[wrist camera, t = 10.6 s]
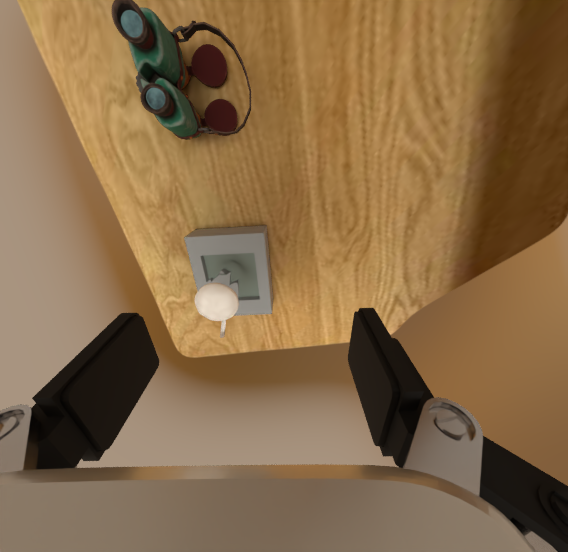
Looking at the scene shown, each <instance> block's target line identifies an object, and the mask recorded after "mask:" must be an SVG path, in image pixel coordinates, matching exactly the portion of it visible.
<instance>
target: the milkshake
mask: <svg viewBox="0 0 568 552" xmlns="http://www.w3.org/2000/svg"><path fill="white" fill-rule="evenodd" d="M243 278H244V270H243V267H242V266H241V265H240V264H239V263H237V262H233V261H228V262H227V263H225V264H223V265H222V266H221V267H220V268H219V269H218V270H217V272H216V273H215V274H214V275H213V276H212V277H211V278H210V279H209V280H208V281H207V282H206V283H205V284H204V285H203V286H202V287H201V288H200V289H199V291H198V292H197V294H196V296H195V304H196V307H197V310H198V312H199V313H200V314H201V315H203V316H204V317H206V318H208V319H209V320H213V321H222V324H221V333H220V338H222V337H224V335H225V325H226V320H227V319H229V318H231V317H233V316H234V315H235V313H236V312H237V309H238V305H239V299H240V293H241V287H242V283H243Z"/></svg>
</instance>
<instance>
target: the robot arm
mask: <svg viewBox="0 0 568 552" xmlns="http://www.w3.org/2000/svg"><path fill="white" fill-rule="evenodd" d="M348 362H349V366H350V369H351V372H352V375H353V379H354V382H355V385H356V388H357V391H358V395H359V397H360V401H361V404H362V407H363V410H364V413H365V417H366V420H367V423H368V426H369V429H370V432H371V435H372V439H373V442H374V444H375V445H376V446H380V449H381V451H382V455H383V456H393V458H394V461H395V464H396V465H397V466H399V467H389V466H375V465H226V466H225V465H222V466H159V467H157V466H156V467H104V468H77V464H78V463H79V461H80V460H81V458H82V459H83V461H99V460H100V458H101V456H102V455H103V453H104V451H105V450H107V449H109V448H110V446H111V445H112V443H113V442H114V440H115V438H116V437H117V435H118V433H119V432H120V430H121V428H122V427H123V425H124V423H125V422H126V420H127V418H128V417H129V415H130V413H131V412H132V410H133V408H134V407H135V405H136V403H137V402H138V400H139V398H140V397H141V395H142V393H143V391H144V390H145V388H146V387H147V385H148V383H149V382H150V380H151V378H152V377H153V375H154V373H155V371H156V369H157V368H158V366H159V358H158V356H157V354H156V351H155V348H154V345H153V343H152V340H151V338H150V335H149V332H148V330H147V327H146V325H145V322H144V319H143V317H141V316H139V314H138V313H121V314H120V315H119V316H118V317H117V318H116V319H115V320H114V321H113V322H111V323H110V324H109V325H108V326H107V327H106V328H105V329H104V330H103V331H102V332H101V333H100V334H99V335H98V336H97V337H96V338H95V339H94V340H93V341H92V342H91V343H90V344H88V346H86V347H85V348H84V349H83V350H82V351H81V352H80V353H79V354H78V355H77V356H76V357H75V358H74V359H73V360H72V361H71V362H70V363H69V364H67V366H65V367H64V368H63V369H62V370H61V371H60V372H59V373H58V374H57V375H56V376H55V377H54V378H53V379H52V380H51V381H50V382H49V383H48V384H47V385H46V386H44V387H43V388H42V389H41V390H40V391H39V392H38V393H37V394H36V395H35V396H34V397H33V398H32V399H33V400H34V401H35V402H36V404H35V405H34V406H33V407H32V408H31V407H29V406H28V405H16V406H12V407H9V408H6V409H3V410H1V411H0V552H568V486H567V485H565V484H563V483H561V482H560V481H558V480H556V479H555V478H553V477H551V476H550V475H548V474H546V473H545V472H543V471H541V470H540V469H538V468H536V467H535V466H533V465H531V464H530V463H528V462H526V461H525V460H523V459H521V458H519V457H518V456H516V455H515V454H513V453H511V452H510V451H508V450H506V449H505V448H503V447H501V446H499V445H498V444H496V443H494V442H493V441H491V440H489V439H487V438H486V437H484V436H483V434H482V429H481V427H480V425H479V423H478V422H477V420H476V419H475V418H474V417H473V415H472V414H471V413H469V412H468V411H467V410H466V409H465V408H464V407H462V406H460V405H459V404H457V403H455V402H453V401H450V400H448V399H444V398H439V397H438V398H434V397H433V395H432V393H431V392H430V390H429V389H428V387H427V386H426V384H425V383H424V381H423V379H422V377H421V376H420V374H419V373H418V371H417V370H416V368H415V367H414V365H413V363H412V362H411V360H410V358H409V357H408V355H407V354H406V352H405V351H404V349H403V347H402V346H401V344H400V343H399V341H398V340H397V339H395V338H391V336H390V334H389V333H388V331H387V329H386V328H385V326H384V324H383V323H382V321H381V319H380V318H379V316H378V314H377V313H376V311H375V309H374V308H360V309H359V311H358V312H355V313H354V319H353V326H352V333H351V339H350V347H349V354H348Z"/></svg>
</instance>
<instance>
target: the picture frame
mask: <svg viewBox="0 0 568 552" xmlns="http://www.w3.org/2000/svg"><path fill="white" fill-rule="evenodd" d="M184 239H185V243H186V247H187V251H188V255H189V259H190V263H191V267H192V271H193V275H194V279H195V283H196V287H197V291H199V289H200V288H201V287H202V286H203V285H204V284H205V283H206V282H207V281H208V280H209V279H210V278H211V277H212V276H213V275H214V274H215V273H216V272H217V270H218V269H219V268H220V267H221V266H222V265H223V264H225V263H227V262H228V261H233V262H237V263H239V264H240V265H241V266H242V267H243V270H244V278H243V283H242V287H241V293H240V299H239V305H238V309H237V312H236V313H235V315H234V316H236V315H257V314H272V307H273V291H272V280H271V269H270V258H269V247H268V236H267V225H262V226H245V227H228V228H210V229H196V230H194V231H193V232H191V233H190V234H189V235H187V236H186V237H184Z"/></svg>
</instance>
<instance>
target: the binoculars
mask: <svg viewBox="0 0 568 552" xmlns="http://www.w3.org/2000/svg"><path fill="white" fill-rule="evenodd" d="M112 17H113V21H114V23H115V25H116V27H117V29H118V31H119V32H120V33H121V34H122V36H123V37H125V38H126V39H127V40H128V42H129V46H130V50H131V54H132V57H133V60H134V63H135V66H136V69H137V71H138V75H137V76H136V79H137V83H136V84H137V86H138V88H139V91H140V92H141V102H142V104H143V106H144V107H145V109H146V110H148V111H149V112H151V113H153V114H154V115H155V116H156V118H157V119H158V121H159V122H160V123H161V124H162V125H163V126H164V127H165V128H167V129H169V130H170V131H172V132H173V133H174V134H175V135H176V136H177V137H179V138H181V139H193V138H196V137H199V136H200V134H201V133H209V134H215V135H223V136H227V135H230V134H235V133H238V132H239V131H240V130H241V129H242V128H243V127H244V126H245V123H246V121H247V119H248V116H249V114H250V111H251V89H250V85H249V81H248V76H247V73H246V70H245V67H244V65H243V62H242V59H241V57H240V56H239V54H238V52H237V50H236V48H235V46H234V44H233V43H232V42H231V41H230V40H229V39H228V38H227V37H226V36H225V35H224V34H223V33H222V32H221V31H220V30H219V29H217V28H215V27H213V26H211V25H209V24H207V23H205V22H200V23H196V21H192V23H191V24H190V25H189V26H188V27H183V26H179V27H177V28H176V29H174V30H173V32H170V31H168V29H167V28H166V27H165V25H164V24H163V23H162V22H161V20H160V19H159V18H158V16H157V15H156V14H155V13H154V12H153V11H151V10H150V9H148V8H139V7H138V5H137V4H136V3H135V2H133V1H132V0H115V1H114V3H113V5H112ZM200 30H208V31H210V32H212V33H214V34H216V35H218V36H220V37H221V38H222V39H223V40H224V41H225V42H226V43H227V44H228V45H229V46H230V47H231V48H232V49H233V50H234V52H235V54H236V56H237V57H238V59H239V61H240V63H241V65H242V67H243V70H244V73H245V76H246V78H247V83H248V87H249V91H250V108H249V110H248V113H247V115H246V117H245V120H244V122H243V124H242V125H241V126H240V127H239V128H238V129H237V130H236V131H235V129H236V127H237V114H236V110H235V108H234V107H233V105H232V104H231V103H230V102H228V101H226V100H223V99H217V100H215V101H213V102H211V103H210V104H209V105H208V107H207V108H206V110H205V114H204V117H205V118H204V119H202V118H201V116H200V115H199V114H198V113H196V111H195V109H194V107H193V105H192V103H191V102H190V101H189V99H188V96H187V95H185V94H184V93H183V92H182V90H181V89H183V88H184V87H185V86H186V85H187V84H188V82H189V80H190V76H192V75H195V76H196V77H197V78H198V79H199V80H200V81H201V82H202V83H203V84H205V85H207V86H209V87H213V88H216V87H220V86H221V85H222V84H223V83H224V82H225V80H226V77H227V64H226V60H225V58H224V56H223V54H222V53H221V51H220V50H219V49H218V48H217V47H215V46H213V45H210V44H205V45H202V46H201V47H199V48H198V49H197V50H196V51H195V53H194V55H193V57H192V62H191V65H192V66H190V67H188V66H186V64H185V63H184V62H183V58H182V52H181V49H180V47H179V43H178V42H186V41H188V40H189V38H191V37H192V35H193V34H194V33H195V32H196V31H200ZM178 31H181V34H182V35H183V37H184V39H179V37H178V35H177V32H178ZM174 38H175V39H174ZM179 90H180V91H179ZM202 126H209V128H202ZM204 130H206V131H204Z"/></svg>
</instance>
